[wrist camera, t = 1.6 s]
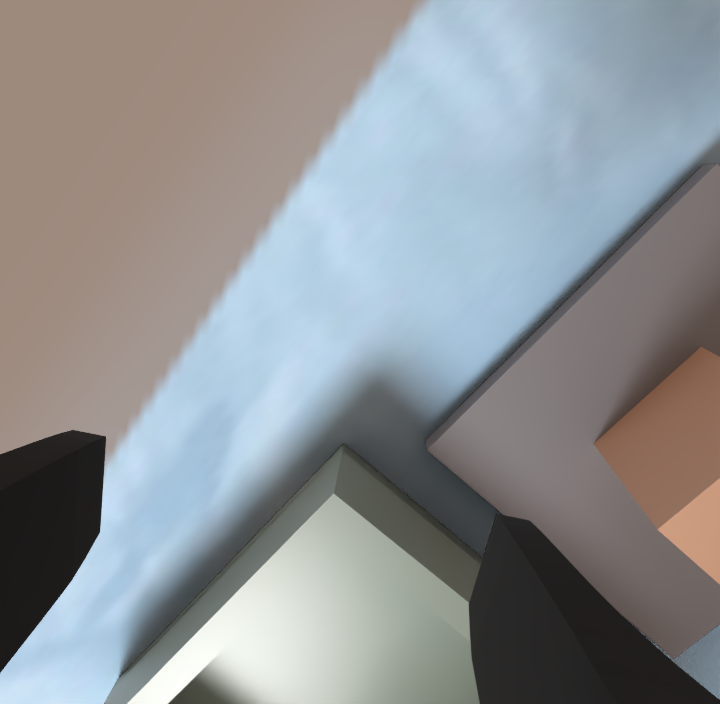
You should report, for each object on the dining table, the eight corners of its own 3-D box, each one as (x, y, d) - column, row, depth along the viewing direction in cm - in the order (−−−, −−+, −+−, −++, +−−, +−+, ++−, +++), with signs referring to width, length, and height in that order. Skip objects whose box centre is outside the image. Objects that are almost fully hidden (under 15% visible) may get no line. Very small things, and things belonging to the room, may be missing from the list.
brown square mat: (953, 420, 19) (976, 429, 19) (664, 642, 22) (673, 658, 22) (703, 164, 18) (717, 163, 17) (425, 439, 21) (426, 450, 20)
